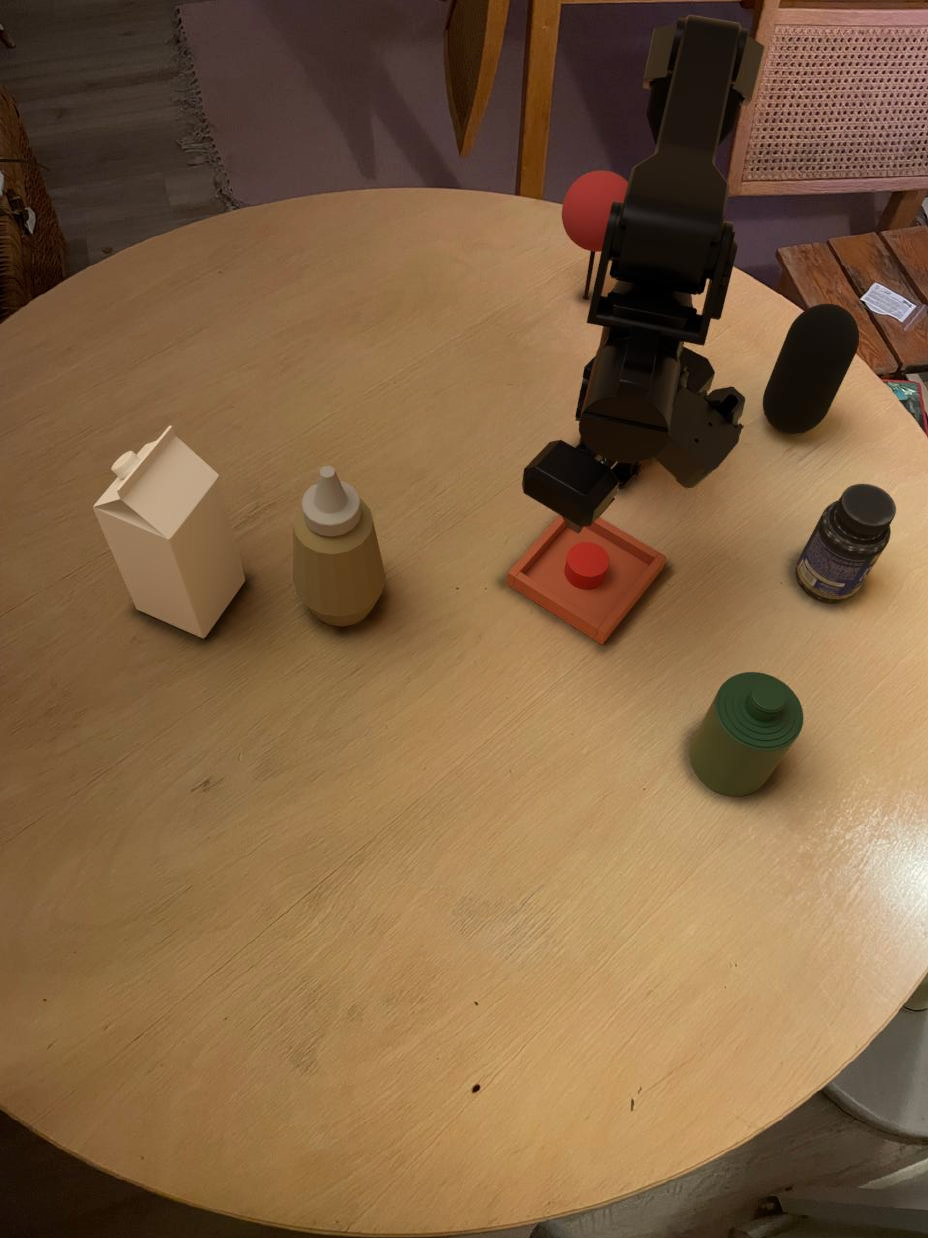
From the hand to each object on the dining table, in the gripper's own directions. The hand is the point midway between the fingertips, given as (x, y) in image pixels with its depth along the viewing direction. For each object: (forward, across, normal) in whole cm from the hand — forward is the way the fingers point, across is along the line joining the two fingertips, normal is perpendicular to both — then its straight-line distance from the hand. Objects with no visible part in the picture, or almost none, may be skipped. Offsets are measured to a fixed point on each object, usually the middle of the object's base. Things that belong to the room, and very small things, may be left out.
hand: (604, 495), depth 87 cm
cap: (+10, 0, 0) cm, 10 cm away
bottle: (+12, -8, -20) cm, 24 cm away
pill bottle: (+12, +14, -18) cm, 26 cm away
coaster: (+12, 0, 0) cm, 12 cm away
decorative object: (+12, +29, -6) cm, 32 cm away
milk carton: (+12, -24, +27) cm, 38 cm away
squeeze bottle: (+12, -16, +16) cm, 26 cm away
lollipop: (+12, +32, +21) cm, 40 cm away
